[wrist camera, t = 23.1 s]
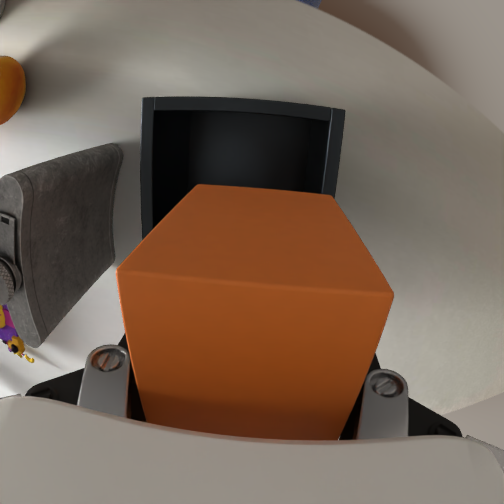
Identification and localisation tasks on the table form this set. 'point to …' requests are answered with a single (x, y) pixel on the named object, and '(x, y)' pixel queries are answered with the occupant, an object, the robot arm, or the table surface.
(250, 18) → the table surface
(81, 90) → the table surface
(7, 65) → the fruit
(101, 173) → the flask
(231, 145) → the bin
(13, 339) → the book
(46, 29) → the table surface
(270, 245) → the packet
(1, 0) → the travel mug
